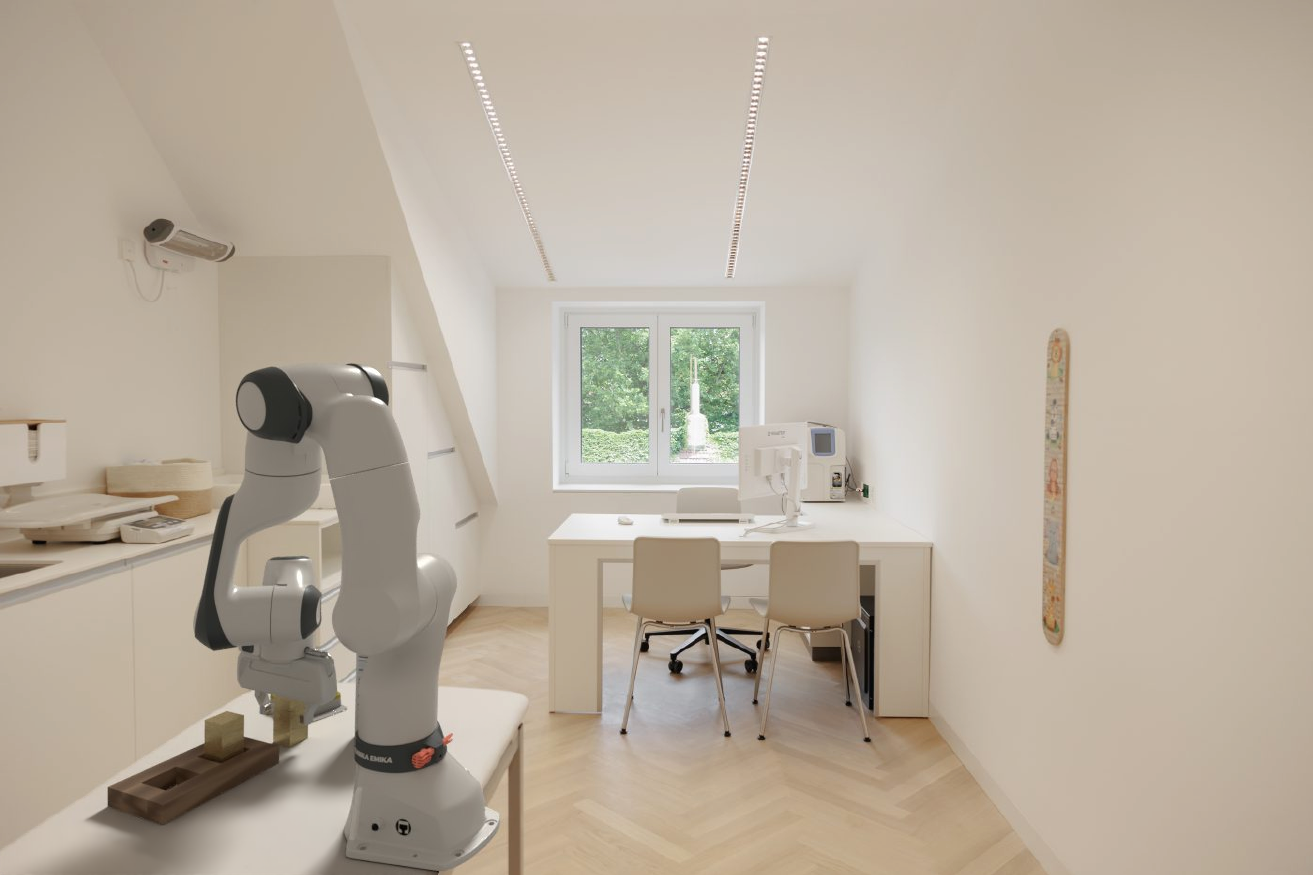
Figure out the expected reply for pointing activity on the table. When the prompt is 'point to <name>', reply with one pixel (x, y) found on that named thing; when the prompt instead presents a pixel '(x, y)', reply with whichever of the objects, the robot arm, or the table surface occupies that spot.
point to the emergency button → (325, 708)
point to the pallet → (188, 781)
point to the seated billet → (224, 737)
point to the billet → (288, 721)
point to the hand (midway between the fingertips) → (286, 718)
